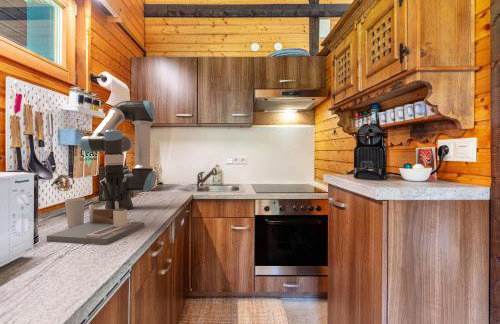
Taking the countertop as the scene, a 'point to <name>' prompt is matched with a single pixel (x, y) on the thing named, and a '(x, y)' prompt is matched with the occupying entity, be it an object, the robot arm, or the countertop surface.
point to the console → (94, 231)
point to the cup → (75, 211)
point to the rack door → (103, 215)
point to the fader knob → (119, 217)
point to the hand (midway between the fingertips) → (115, 215)
